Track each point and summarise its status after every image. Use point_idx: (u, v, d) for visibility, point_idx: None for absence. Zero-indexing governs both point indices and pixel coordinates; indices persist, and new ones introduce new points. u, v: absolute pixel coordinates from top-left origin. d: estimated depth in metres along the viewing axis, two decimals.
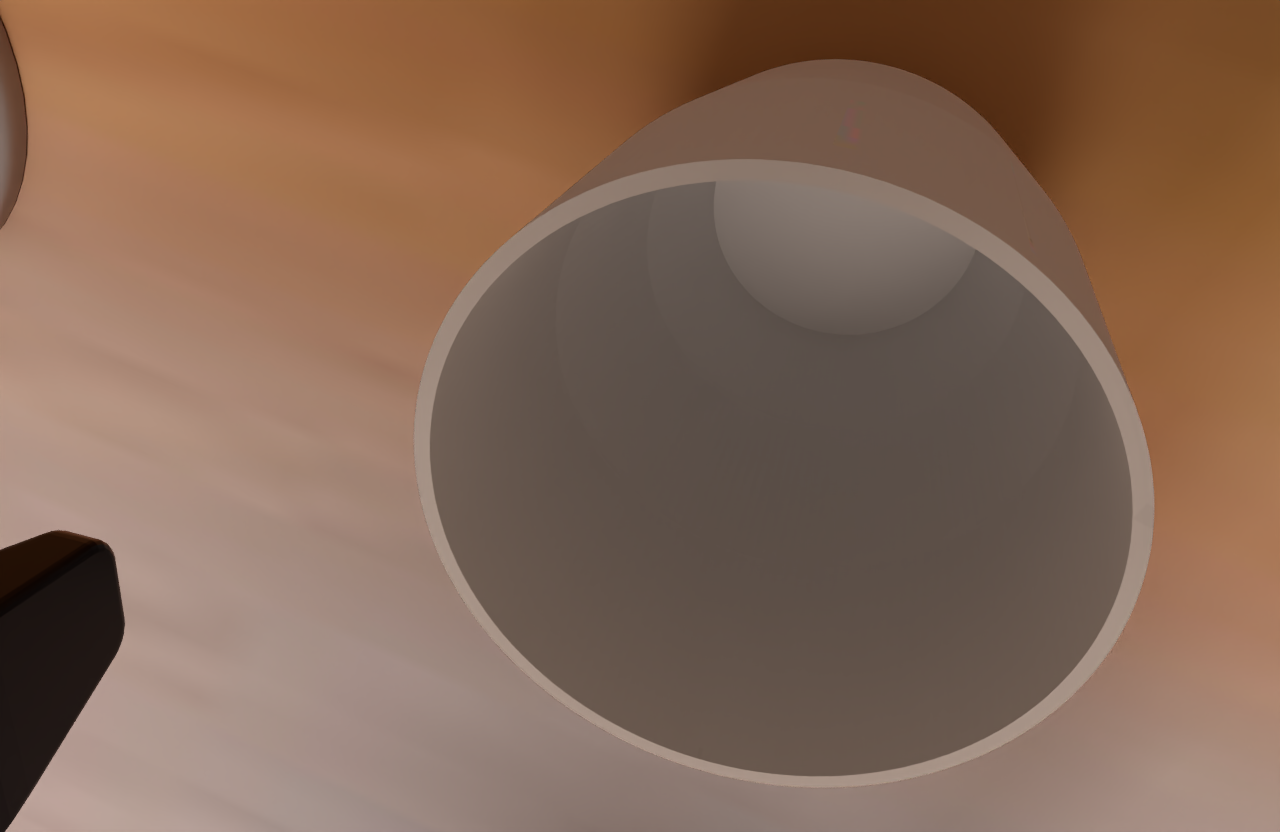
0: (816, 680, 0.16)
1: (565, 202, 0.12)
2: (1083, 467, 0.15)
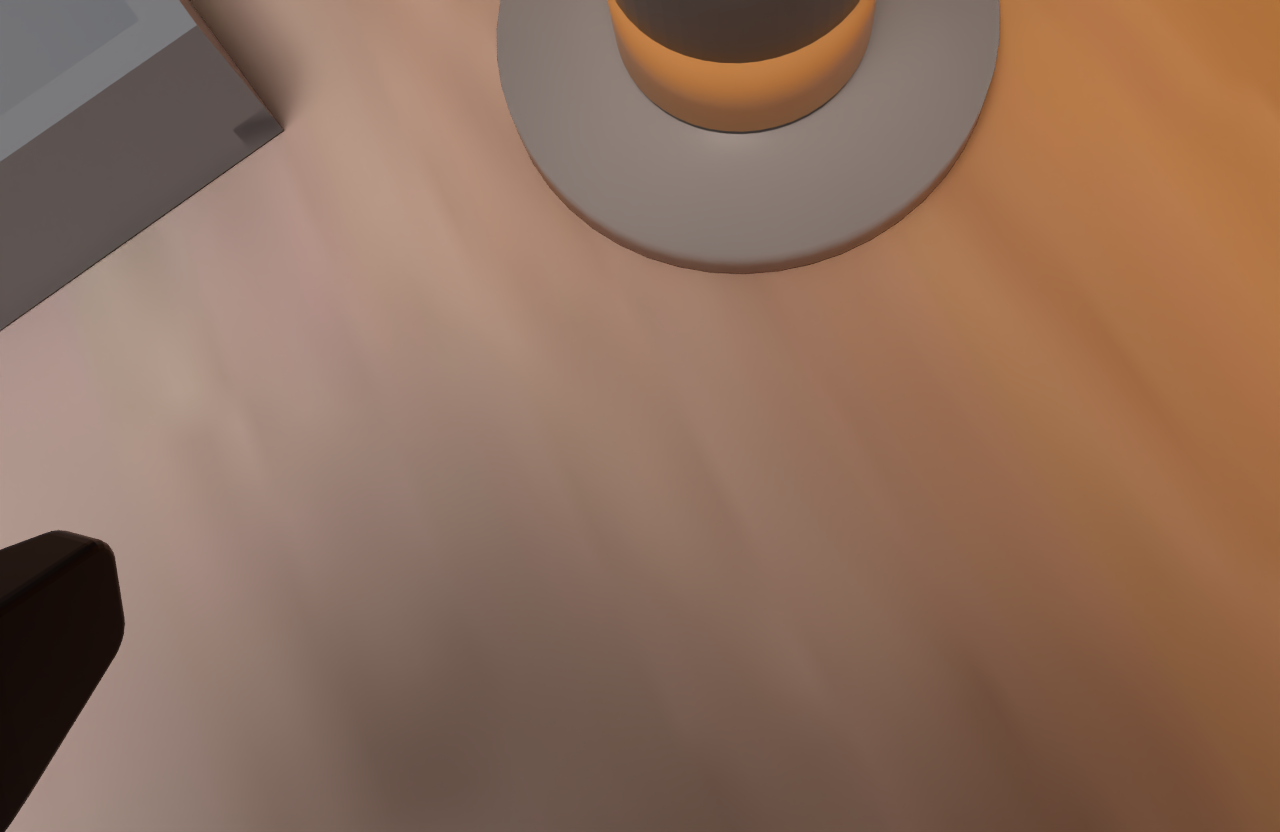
0: None
1: None
2: None
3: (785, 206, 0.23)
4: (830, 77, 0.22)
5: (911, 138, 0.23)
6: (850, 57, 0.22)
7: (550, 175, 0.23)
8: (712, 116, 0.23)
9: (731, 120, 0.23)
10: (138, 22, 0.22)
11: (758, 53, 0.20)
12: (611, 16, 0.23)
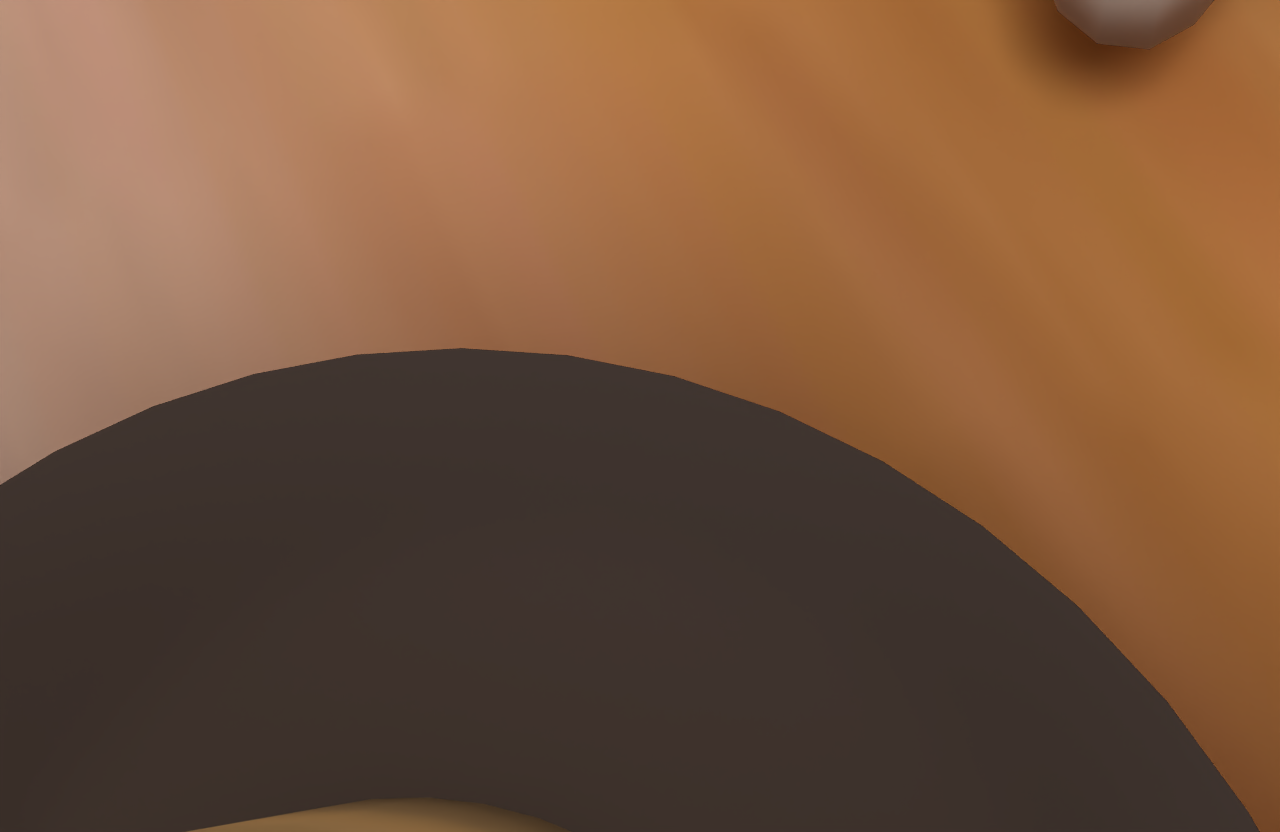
0: None
1: None
2: None
3: None
4: None
5: None
6: None
7: None
8: None
9: None
10: None
11: None
12: None
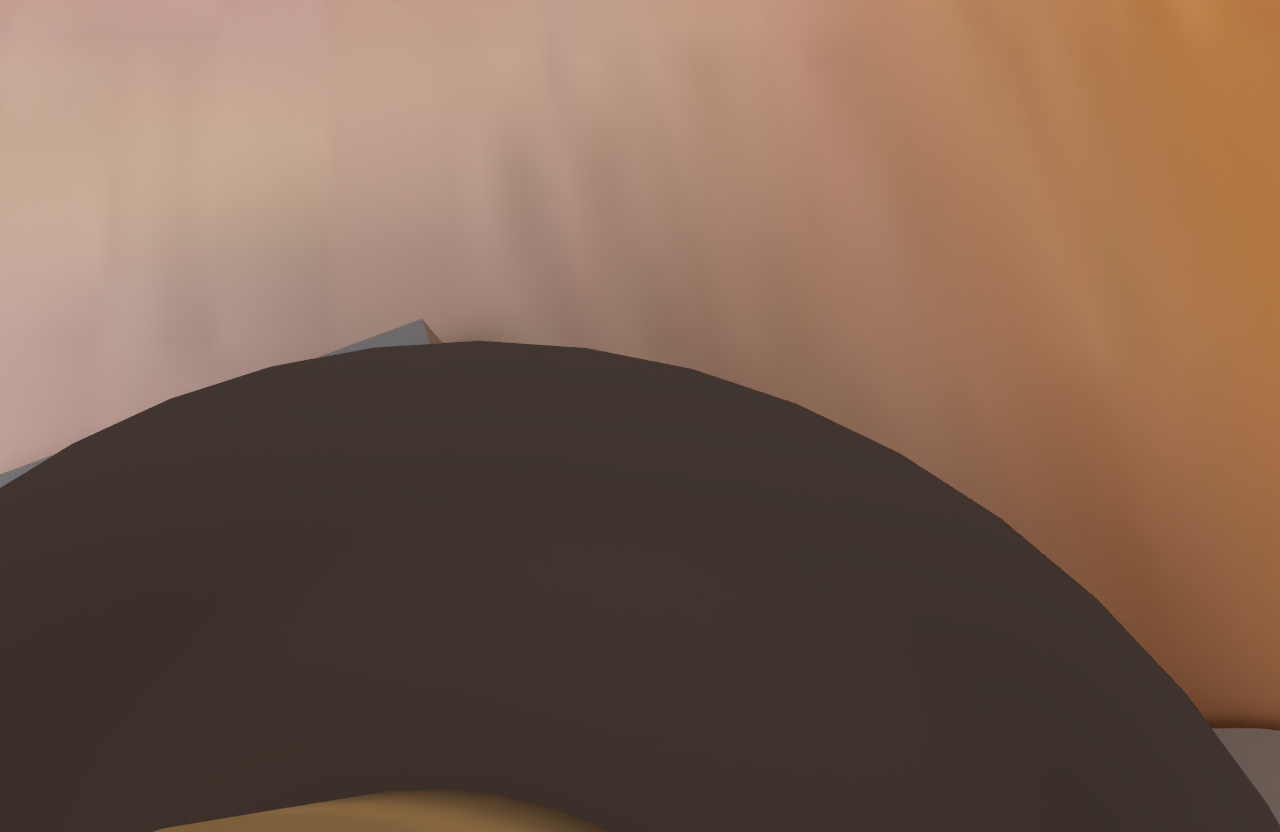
0: None
1: None
2: None
3: None
4: None
5: None
6: None
7: None
8: None
9: None
10: None
11: None
12: None
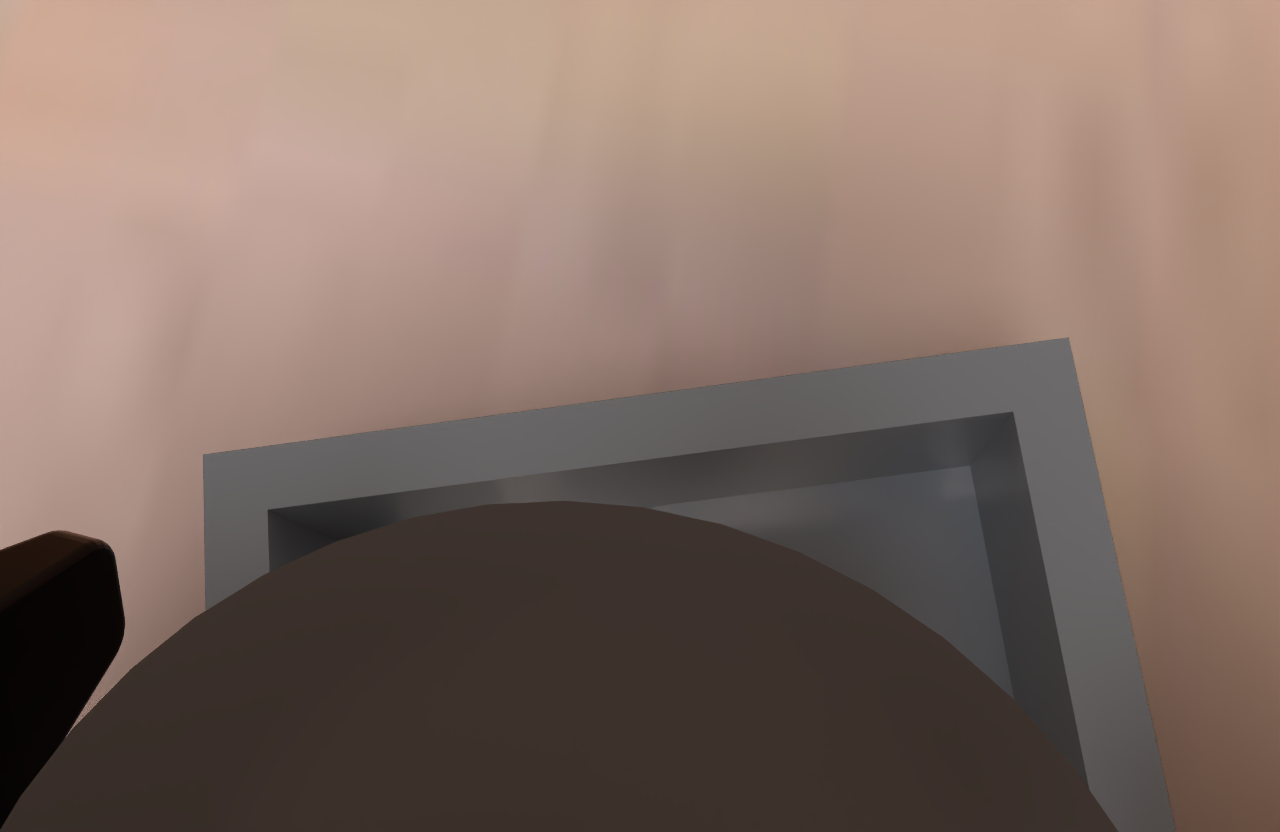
0: None
1: None
2: None
3: None
4: None
5: None
6: None
7: None
8: None
9: None
10: None
11: None
12: None
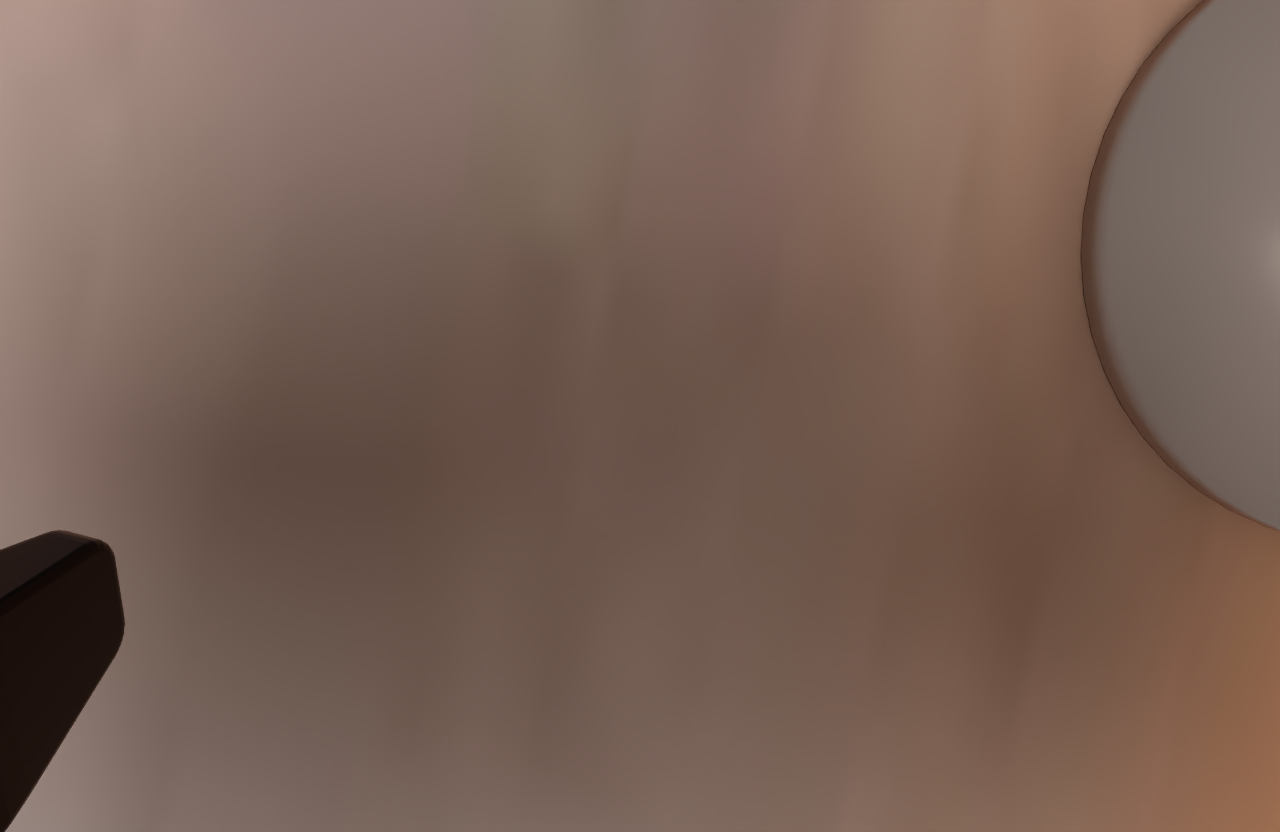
0: None
1: None
2: None
3: None
4: None
5: None
6: None
7: (1109, 272, 0.19)
8: None
9: None
10: None
11: None
12: None
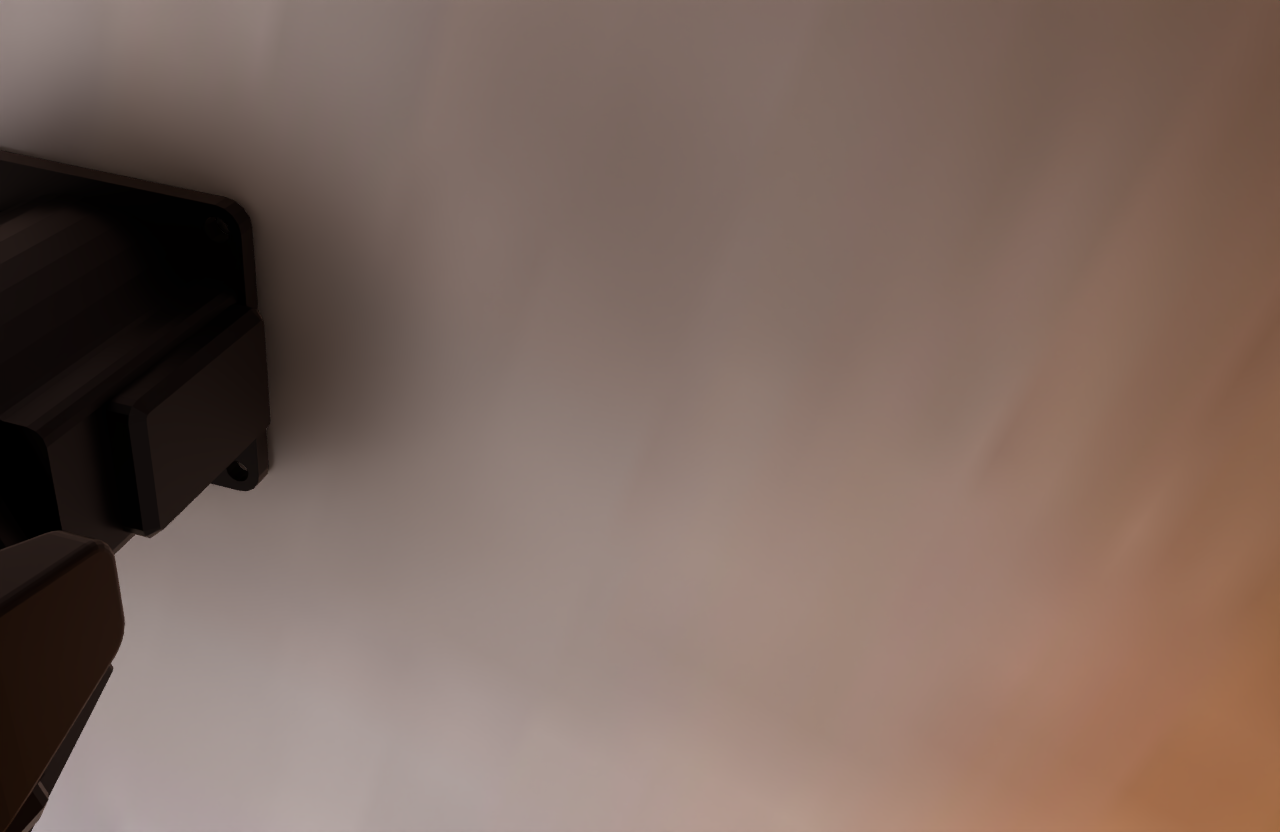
0: None
1: None
2: None
3: None
4: None
5: None
6: None
7: None
8: None
9: None
10: None
11: None
12: None
